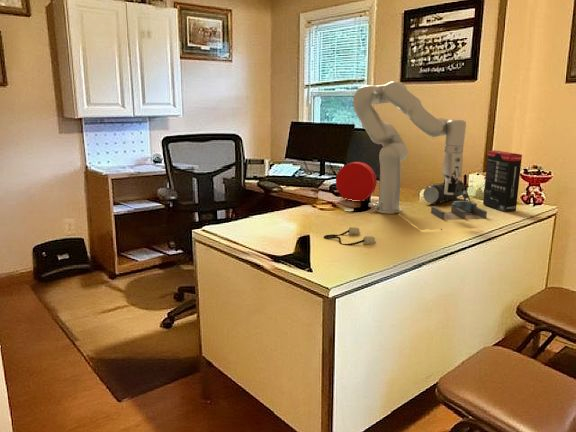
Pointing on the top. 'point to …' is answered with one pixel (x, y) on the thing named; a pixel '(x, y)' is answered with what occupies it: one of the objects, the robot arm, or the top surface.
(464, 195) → the portable electronic device stand
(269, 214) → the top surface
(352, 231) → the cable
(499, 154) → the graphics card box
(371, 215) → the top surface
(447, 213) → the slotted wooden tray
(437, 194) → the muzzle brake
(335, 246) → the top surface
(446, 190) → the cream plastic cylinder
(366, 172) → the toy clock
